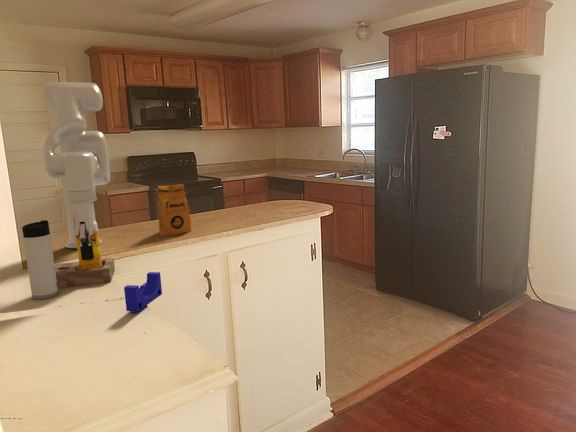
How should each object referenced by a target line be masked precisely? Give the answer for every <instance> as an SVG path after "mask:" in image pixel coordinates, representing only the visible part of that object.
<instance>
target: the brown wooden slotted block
mask: <svg viewBox="0 0 576 432" xmlns="http://www.w3.org/2000/svg"><path fill="white" fill-rule="evenodd" d="M101 260H102V267H101V268H93V269H84V270H80V265H79V261H72V262H64V263H56V264H55V263H54V265H55V272H56V279H57V286H58V287H57V288H58V289H61V288H70V287H71V288H72V287H79V286H88V285H95V284H105V283H106V284H107V283H111V282H112V280H113V277H114V273H115V271H116V270H115V269H116V268H115V267H116V265H115V259H114V257H111V258H101Z"/></svg>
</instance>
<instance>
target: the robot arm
mask: <svg viewBox="0 0 576 432" xmlns="http://www.w3.org/2000/svg"><path fill="white" fill-rule="evenodd" d="M42 91H43V92H42V93H43V97H44V100H45V103H46V104H47V106H48V107H49V109H50V111H51V112H52V114H53V116H54V119H55V123H56V126H54V127H53V128H52V129H51V130H50V131H49V133H48V134H47V136H46V137H45V140H44V143H43V159H44V167H45V171H46V173H47V175H48V176H49V177H50V178H52V179H56V180H57V179H58V180H59V181H60V185H61V189H62V192H63V198H64V205H65V212H66V213H65V214H66V220H67V226H68V227H67V228H68V235H69V241H68V242H67V243H66V244H65V246H66V248H68V249H77V241H76V237H78V235H79V232H80V250H81V258H82V260H91V259H93V258H94V254H93V246H92V245H91V235H93V224H94V221H96V213H95V205H94V202H95V201H98V198H97V190H96V186H104V185H107V184H109V183H110V181H111V169H110V162H109V161H110V160H109V151H108V143H107V139H106V136H105V135H104V133H103V132H101V131H100V130H87V119H86V113H85V112H99V111H101V110H102V109H103V105H104V100H103V94H102V92H101V89H100V88H99V86H98V85H97V84H96V83H94V82H73V81H72V82H71V81H70V82H69V81H65V82H64V81H62V82H61V81H59V82H58V81H56V82H55V81H54V82H48V83H46V84H45V85H44V86H43V88H42ZM57 147H59V150H60V152H55V150H56V148H57ZM96 222H97V221H96ZM85 233H88V234H89V235H85ZM87 238H88V239H87ZM99 243H101V244H102V243H103V239H102V238H100V237H99Z"/></svg>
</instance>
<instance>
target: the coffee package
mask: <svg viewBox="0 0 576 432" xmlns="http://www.w3.org/2000/svg"><path fill="white" fill-rule="evenodd" d="M185 192H186V191H185V187H184V183H182V184H180V183H179V184H174V185H173V184H171V185H157V186H156V194H157V195H156V196H157V211H158V228H159V229H158V230H159V235H161V234H162V235H161V236H163V235H164V237H167V236H166V235H169V236H175V235H181V234H185V233H189V232H192V231H193V230H192V219H191V214H190V210H189V204H188V200H187V197H186V193H185Z"/></svg>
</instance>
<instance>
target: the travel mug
mask: <svg viewBox="0 0 576 432" xmlns="http://www.w3.org/2000/svg"><path fill="white" fill-rule="evenodd" d="M21 231H22V239H23V245H24V252H25V258H26V265H27V270H28V272H27V273H28V278H29V286H30V291H31V298H32V299H33V300H37V301H38V300H40V301H41V300H47V299H52V298H54V297H57V296H58V294H59V288H57V287H58V286H57V279H56V272H55V260H54V251H53V245H52V237H51V232H50V223H49V220H44V219H42V220H40V221H35V222H31V223H28V224H26V225H24V226H22V227H21Z"/></svg>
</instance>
